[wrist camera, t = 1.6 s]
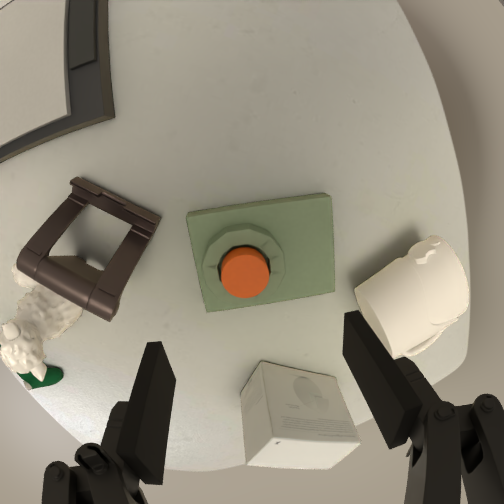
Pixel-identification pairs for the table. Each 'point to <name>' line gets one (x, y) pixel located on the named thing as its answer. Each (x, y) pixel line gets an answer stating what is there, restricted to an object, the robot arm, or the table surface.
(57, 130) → the scale
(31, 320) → the white creature statuette
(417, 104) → the table surface
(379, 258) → the table surface
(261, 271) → the button
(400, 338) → the mug
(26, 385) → the gaming controller
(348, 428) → the cosmetics box
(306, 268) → the green button base
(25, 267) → the tablet stand
